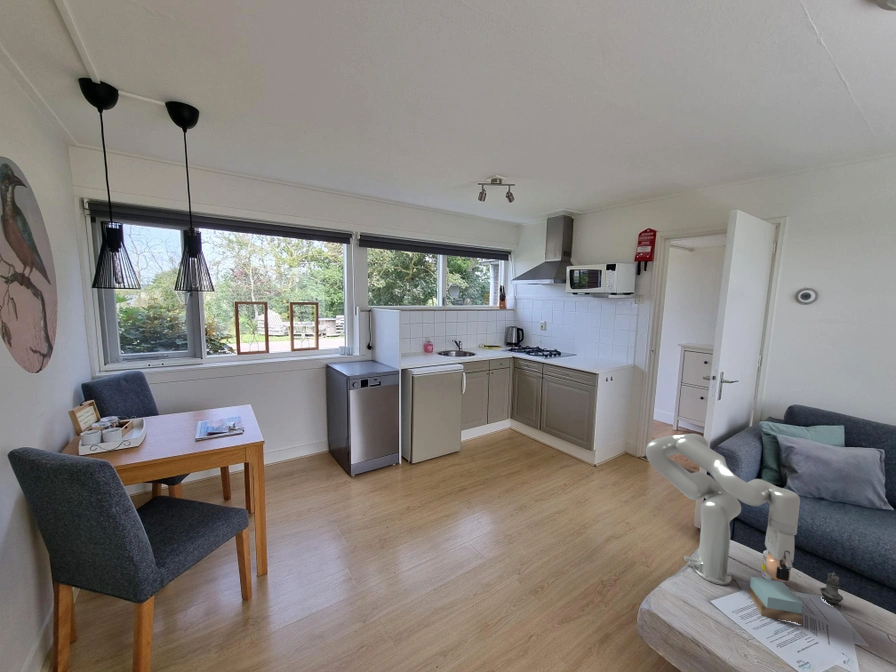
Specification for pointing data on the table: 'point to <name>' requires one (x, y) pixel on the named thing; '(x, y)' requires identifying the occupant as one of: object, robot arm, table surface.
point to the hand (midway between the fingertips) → (777, 572)
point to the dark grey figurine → (832, 591)
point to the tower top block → (775, 595)
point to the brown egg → (773, 566)
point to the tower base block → (774, 610)
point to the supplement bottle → (765, 567)
